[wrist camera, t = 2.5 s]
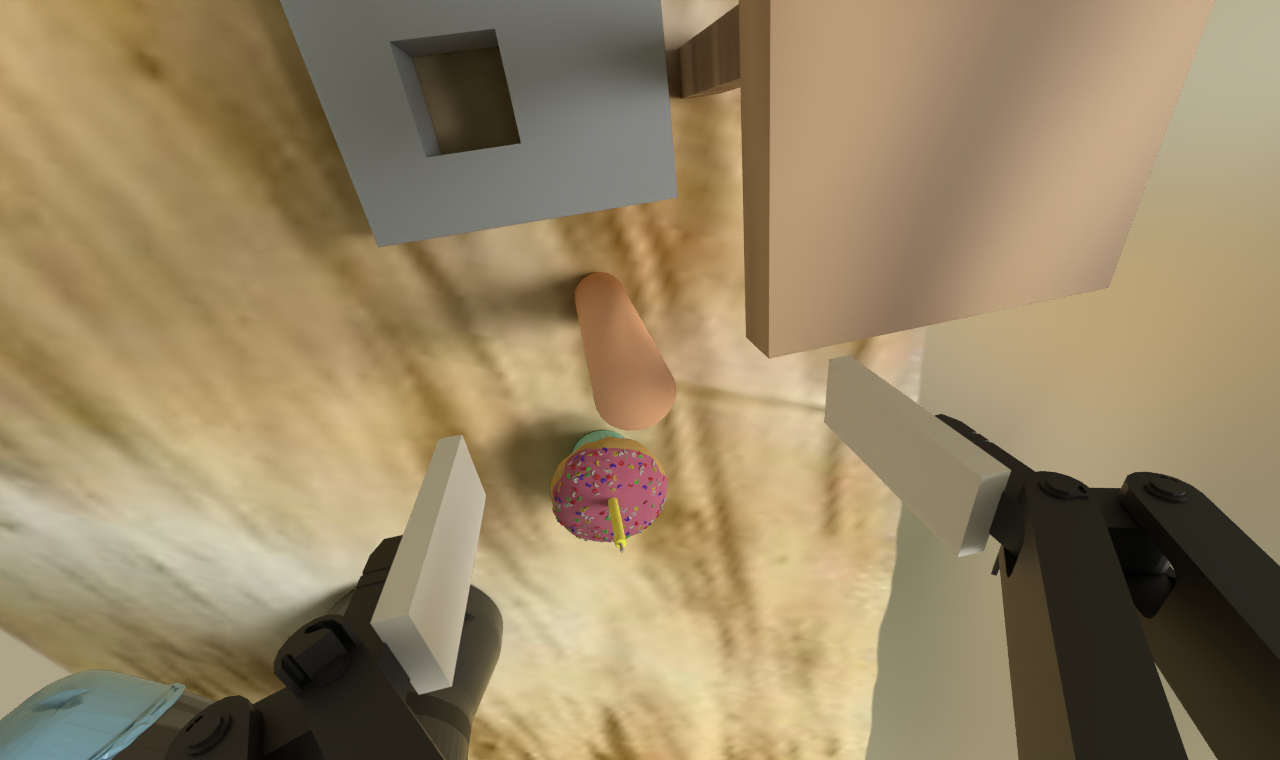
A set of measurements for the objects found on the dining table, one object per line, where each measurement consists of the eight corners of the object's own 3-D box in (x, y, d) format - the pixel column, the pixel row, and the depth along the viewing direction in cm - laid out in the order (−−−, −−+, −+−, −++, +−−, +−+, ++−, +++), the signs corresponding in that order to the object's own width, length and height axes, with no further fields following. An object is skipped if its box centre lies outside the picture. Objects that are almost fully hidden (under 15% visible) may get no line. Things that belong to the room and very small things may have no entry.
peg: (579, 325, 32) (602, 437, 19) (569, 277, 30) (587, 367, 18) (627, 315, 32) (679, 421, 20) (620, 268, 30) (671, 350, 18)
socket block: (399, 234, 27) (378, 247, 23) (302, -28, 21) (254, -63, 18) (661, 191, 29) (677, 197, 25) (635, -63, 23) (651, -101, 19)
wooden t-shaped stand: (617, 215, 29) (768, 358, 9) (572, -84, 22) (778, -1776, 3) (737, 195, 30) (1108, 288, 10) (729, -100, 23) (1761, -1477, 3)
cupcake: (539, 421, 34) (537, 541, 24) (648, 399, 35) (692, 506, 25) (561, 505, 38) (568, 639, 28) (659, 484, 39) (700, 606, 29)
